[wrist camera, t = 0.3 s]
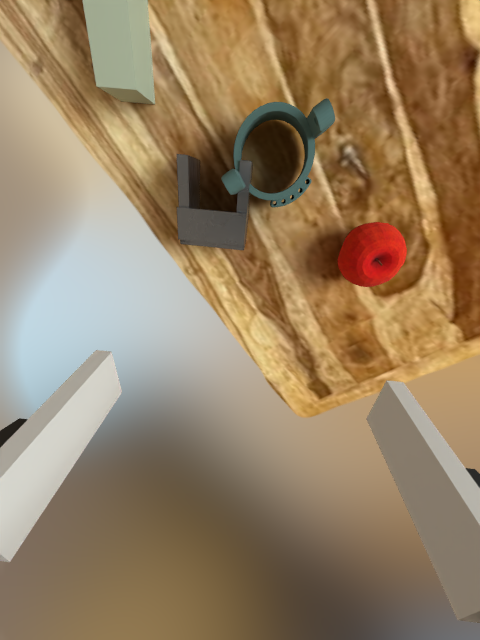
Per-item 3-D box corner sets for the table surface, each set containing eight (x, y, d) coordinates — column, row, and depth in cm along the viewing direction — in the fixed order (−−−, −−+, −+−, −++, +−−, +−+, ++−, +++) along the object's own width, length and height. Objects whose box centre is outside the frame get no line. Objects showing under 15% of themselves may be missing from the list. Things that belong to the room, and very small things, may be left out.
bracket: (229, 188, 31) (217, 190, 23) (253, 98, 26) (248, 62, 18) (293, 212, 31) (301, 222, 24) (327, 129, 27) (352, 107, 19)
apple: (329, 224, 32) (347, 234, 26) (392, 212, 31) (426, 219, 25) (331, 279, 36) (346, 299, 30) (386, 270, 35) (415, 289, 28)
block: (104, -37, 23) (67, -89, 18) (145, -34, 23) (118, -85, 18) (121, 101, 28) (96, 86, 23) (155, 104, 28) (136, 89, 23)
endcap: (190, 159, 30) (174, 153, 24) (252, 165, 30) (251, 160, 24) (192, 235, 34) (178, 245, 29) (245, 240, 34) (243, 251, 28)
